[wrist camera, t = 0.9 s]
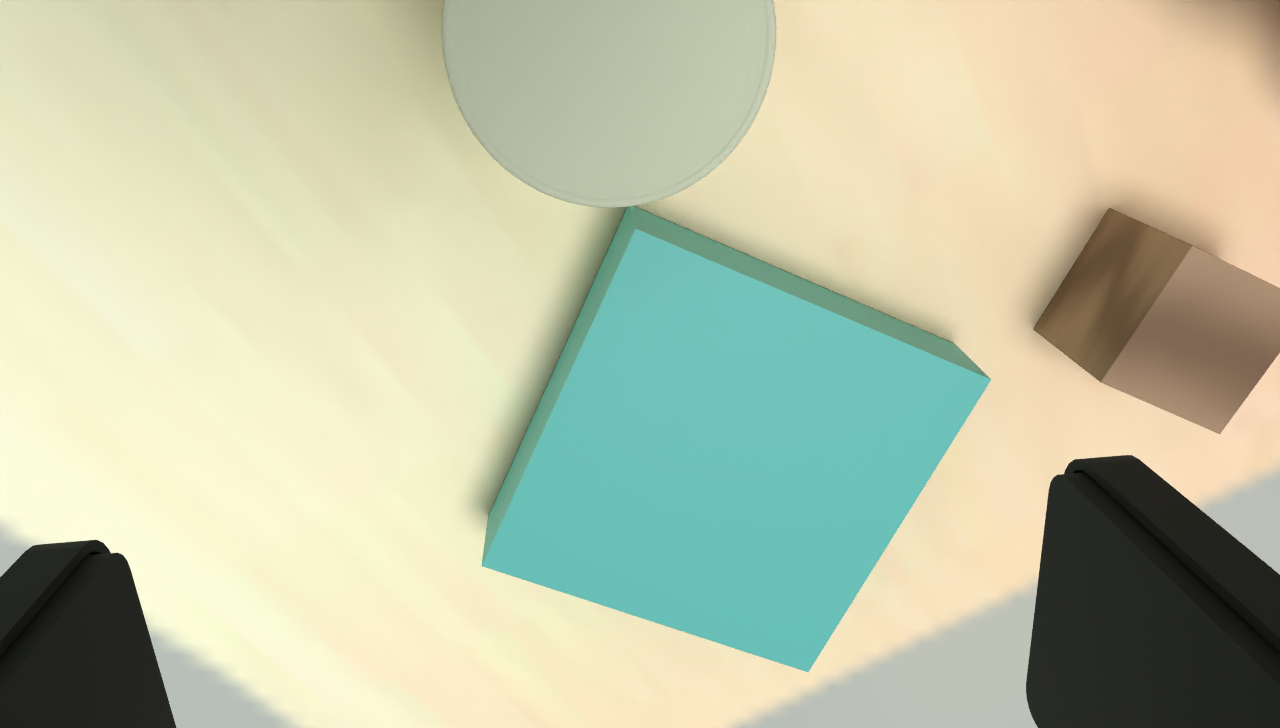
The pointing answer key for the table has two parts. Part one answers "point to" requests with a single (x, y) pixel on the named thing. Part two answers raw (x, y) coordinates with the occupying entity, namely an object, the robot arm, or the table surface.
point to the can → (609, 89)
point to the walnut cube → (1165, 321)
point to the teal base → (725, 445)
